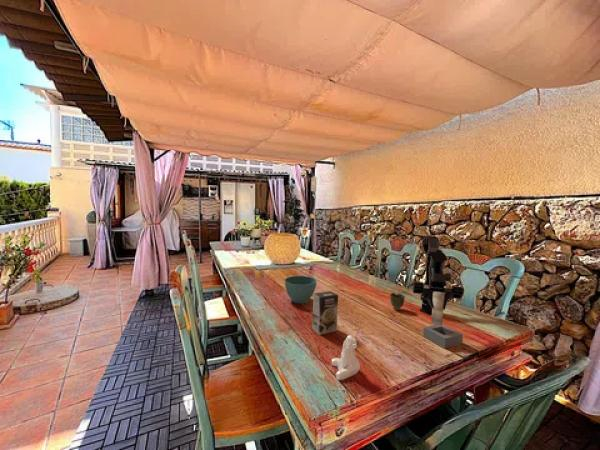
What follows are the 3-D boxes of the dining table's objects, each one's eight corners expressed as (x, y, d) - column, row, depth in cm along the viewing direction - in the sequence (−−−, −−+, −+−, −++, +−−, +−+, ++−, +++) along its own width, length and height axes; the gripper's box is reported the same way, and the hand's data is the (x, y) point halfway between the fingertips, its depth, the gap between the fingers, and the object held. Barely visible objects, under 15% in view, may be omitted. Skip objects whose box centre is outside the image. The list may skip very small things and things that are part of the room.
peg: (433, 320, 109) (435, 291, 108) (443, 323, 106) (445, 293, 105) (429, 322, 107) (431, 293, 106) (440, 326, 104) (441, 295, 103)
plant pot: (321, 299, 151) (322, 279, 150) (305, 309, 136) (306, 286, 135) (295, 293, 161) (296, 274, 160) (277, 302, 145) (278, 280, 145)
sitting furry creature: (330, 363, 88) (331, 328, 88) (354, 362, 89) (356, 328, 89) (336, 381, 79) (337, 343, 78) (364, 380, 80) (365, 342, 79)
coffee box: (319, 335, 108) (320, 297, 107) (311, 329, 113) (312, 292, 112) (337, 331, 112) (338, 294, 111) (329, 325, 118) (330, 290, 117)
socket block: (440, 332, 113) (440, 323, 112) (462, 343, 104) (462, 334, 103) (423, 336, 109) (423, 327, 109) (444, 348, 100) (445, 338, 99)
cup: (403, 308, 141) (404, 293, 140) (404, 313, 134) (405, 297, 133) (389, 306, 143) (390, 292, 143) (389, 311, 136) (390, 296, 136)
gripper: (414, 263, 112) (414, 295, 102) (464, 267, 105) (469, 303, 96) (412, 276, 120) (412, 308, 110) (459, 281, 113) (463, 315, 103)
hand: (438, 308), depth 105 cm, fingers closed on peg, 4 cm apart
